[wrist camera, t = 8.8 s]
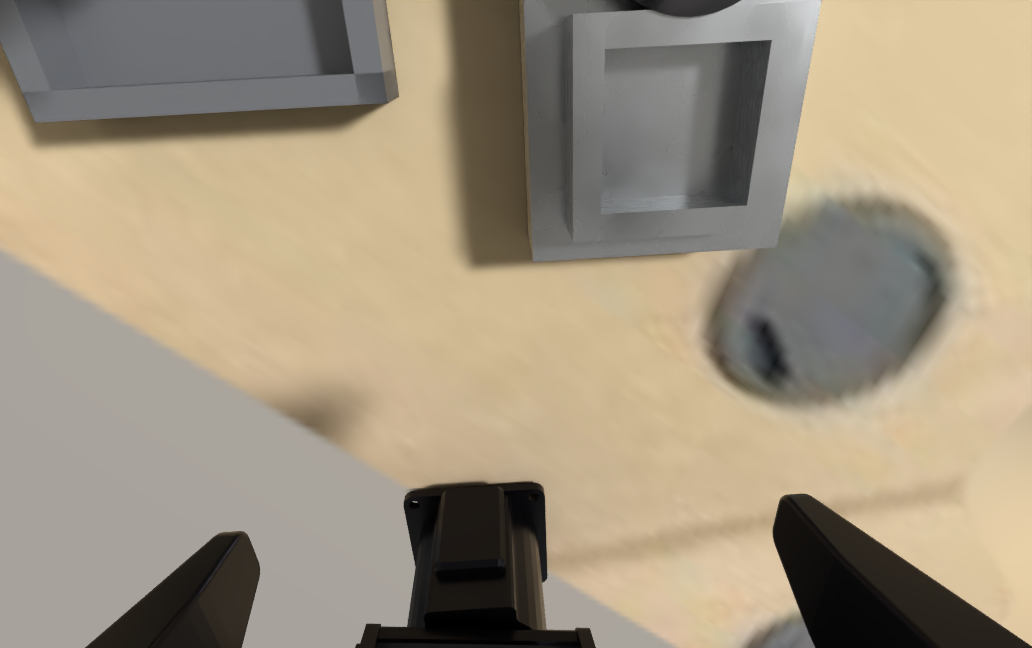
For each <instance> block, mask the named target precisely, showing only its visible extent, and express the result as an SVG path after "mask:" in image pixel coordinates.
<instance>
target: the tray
mask: <svg viewBox="0 0 1032 648" xmlns="http://www.w3.org/2000/svg"><path fill="white" fill-rule="evenodd" d="M0 42H1V45H2V47H3V49H4V52H5V54H6V56H7V59H8V61H9V63H10V66H11V68H12V70H13V73H14V75H15V77H16V79H17V82H18V84H19V86H20V89H21V91H22V93H23V96H24V98H25V100H26V103H27V105H28V107H29V109H30V112H31V114H32V116H33V119H34V121H35V123H40V122H57V121H75V120H93V119H111V118H129V117H147V116H164V115H182V114H200V113H218V112H236V111H253V110H271V109H289V108H307V107H325V106H342V105H360V104H378V103H388V102H390V101H392V100H394V99H396V98H397V97H399V93H398V85H397V78H396V71H395V63H394V56H393V49H392V42H391V34H390V27H389V20H388V12H387V5H386V0H0Z"/></svg>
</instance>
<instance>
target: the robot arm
mask: <svg viewBox="0 0 1032 648" xmlns="http://www.w3.org/2000/svg"><path fill="white" fill-rule="evenodd" d="M532 493H537V494H535V495H530V494H532ZM412 501H417V502H418V503H414V502H412ZM404 510H405V514H406V520H407V525H408V530H409V535H410V541H411V546H412V551H413V556H414V561H415V566H416V570H415V576H414V583H413V591H412V597H411V604H410V611H409V618H408V625H407V627H381V624H366V627H365V630H364V633H363V637H362V640H361V643H360V644H357V645H356V647H355V648H596V647H595V644H594V640H593V637H592V634H591V631H590V628H576V629H575V630H546V620H545V609H544V600H543V588H542V583H543V582H544V581H545V580H546V579H547V551H546V521H545V495H544V489H543V487H542V486H541V485H540V484H538V483H523V484H508V485H493V486H478V487H463V488H448V489H433V490H418V491H411V492H409V493H407V494H406V496H405V500H404ZM773 539H774V543H775V546H776V549H777V551H778V554H779V557H780V559H781V562H782V565H783V567H784V570H785V573H786V575H787V578H788V581H789V583H790V586H791V589H792V591H793V594H794V597H795V599H796V602H797V605H798V607H799V610H800V613H801V615H802V618H803V620H804V623H805V625H806V628H807V630H808V633H809V635H810V637H811V639H812V642H813V644H814V646H815V648H1032V646H1030V645H1029V644H1028V643H1026V642H1025V641H1023V640H1022V639H1020V638H1018V637H1017V636H1016V635H1014V634H1013V633H1011V632H1010V631H1008V630H1007V629H1006V628H1004V627H1003V626H1001V625H1000V624H998V623H997V622H995V621H994V620H992V619H991V618H989V617H988V616H986V615H985V614H984V613H982V612H981V611H979V610H978V609H976V608H975V607H973V606H972V605H970V604H969V603H967V602H966V601H964V600H963V599H962V598H960V597H959V596H957V595H956V594H954V593H953V592H951V591H950V590H948V589H947V588H945V587H944V586H942V585H941V584H940V583H938V582H937V581H935V580H934V579H932V578H931V577H929V576H928V575H926V574H925V573H923V572H922V571H920V570H919V569H918V568H916V567H915V566H913V565H912V564H910V563H909V562H907V561H906V560H904V559H903V558H901V557H900V556H898V555H897V554H896V553H894V552H893V551H891V550H890V549H888V548H887V547H885V546H884V545H882V544H881V543H879V542H878V541H876V540H875V539H874V538H872V537H871V536H869V535H868V534H866V533H865V532H863V531H862V530H860V529H859V528H857V527H856V526H854V525H853V524H852V523H850V522H849V521H847V520H846V519H844V518H843V517H841V516H840V515H838V514H837V513H835V512H834V511H832V510H831V509H830V508H828V507H827V506H825V505H824V504H822V503H821V502H819V501H818V500H816V499H815V498H813V497H812V496H810V495H808V494H791V495H784V496H782V498H781V499H780V501H779V505H778V509H777V513H776V517H775V521H774V526H773ZM259 576H260V566H259V562H258V559H257V557H256V554H255V552H254V549H253V546H252V544H251V541H250V539H249V537H248V535H247V534H246V533H245V532H242V531H236V532H223V533H219V534H218V535H216V536H215V537H213V538H212V539H211V540H210V541H209V542H207V543H206V544H205V545H204V546H203V547H202V548H200V549H199V550H198V551H197V552H196V553H195V554H193V555H192V556H191V557H190V558H189V559H188V560H186V561H185V562H184V563H183V564H182V565H181V566H179V568H177V569H176V570H175V571H174V572H173V573H171V574H170V575H169V576H168V577H167V578H166V579H164V580H163V581H162V582H161V583H160V584H159V585H157V586H156V587H155V588H154V589H153V590H152V591H150V592H149V593H148V594H147V595H146V596H145V597H144V598H142V599H141V600H140V601H139V602H138V603H137V604H135V605H134V606H133V607H132V608H131V609H130V610H128V611H127V612H126V613H125V614H124V615H123V616H121V617H120V618H119V619H118V620H117V621H116V622H114V623H113V624H112V625H111V626H110V627H109V628H107V629H106V630H105V631H104V632H103V633H102V634H101V635H99V636H98V637H97V638H96V639H95V640H94V641H92V642H91V643H90V644H89V645H88V646H87V647H85V648H242V644H243V640H244V636H245V632H246V628H247V624H248V620H249V616H250V613H251V609H252V605H253V601H254V597H255V593H256V589H257V585H258V581H259Z"/></svg>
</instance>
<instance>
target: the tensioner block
mask: <svg viewBox="0 0 1032 648" xmlns="http://www.w3.org/2000/svg"><path fill="white" fill-rule="evenodd" d="M821 1H822V0H519V13H520V38H521V63H522V89H523V114H524V139H525V164H526V190H527V215H528V238H529V243H530V248H531V254H532V259H533V262H541V261H558V260H574V259H591V258H607V257H624V256H640V255H657V254H673V253H690V252H706V251H723V250H739V249H756V248H772V247H777V242H778V237H779V231H780V226H781V220H782V215H783V209H784V204H785V198H786V193H787V187H788V182H789V176H790V171H791V165H792V160H793V154H794V149H795V143H796V138H797V132H798V127H799V121H800V116H801V111H802V105H803V100H804V94H805V89H806V83H807V78H808V72H809V67H810V61H811V56H812V50H813V45H814V39H815V34H816V28H817V23H818V17H819V12H820V6H821Z"/></svg>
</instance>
